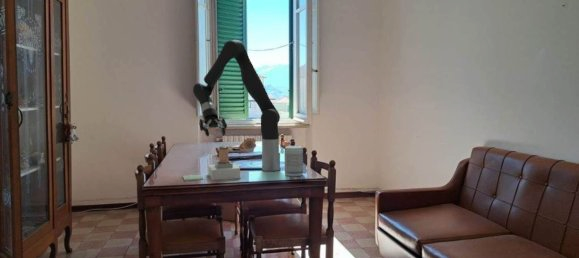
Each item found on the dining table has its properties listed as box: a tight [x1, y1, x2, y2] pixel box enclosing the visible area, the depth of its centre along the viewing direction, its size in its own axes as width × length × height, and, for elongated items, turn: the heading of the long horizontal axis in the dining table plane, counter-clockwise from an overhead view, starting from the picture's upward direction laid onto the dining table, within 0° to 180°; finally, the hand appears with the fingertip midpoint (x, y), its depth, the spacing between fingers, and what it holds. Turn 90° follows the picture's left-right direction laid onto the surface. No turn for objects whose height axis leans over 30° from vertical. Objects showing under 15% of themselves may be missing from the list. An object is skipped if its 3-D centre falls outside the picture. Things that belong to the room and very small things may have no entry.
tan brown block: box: [218, 145, 229, 164], centre depth 215 cm, size 5×5×10 cm
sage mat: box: [182, 174, 204, 182], centre depth 211 cm, size 9×9×1 cm
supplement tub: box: [284, 145, 304, 178], centre depth 219 cm, size 10×10×15 cm
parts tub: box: [207, 160, 242, 181], centre depth 216 cm, size 16×13×7 cm
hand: (216, 135), depth 223 cm, fingers open, 8 cm apart
